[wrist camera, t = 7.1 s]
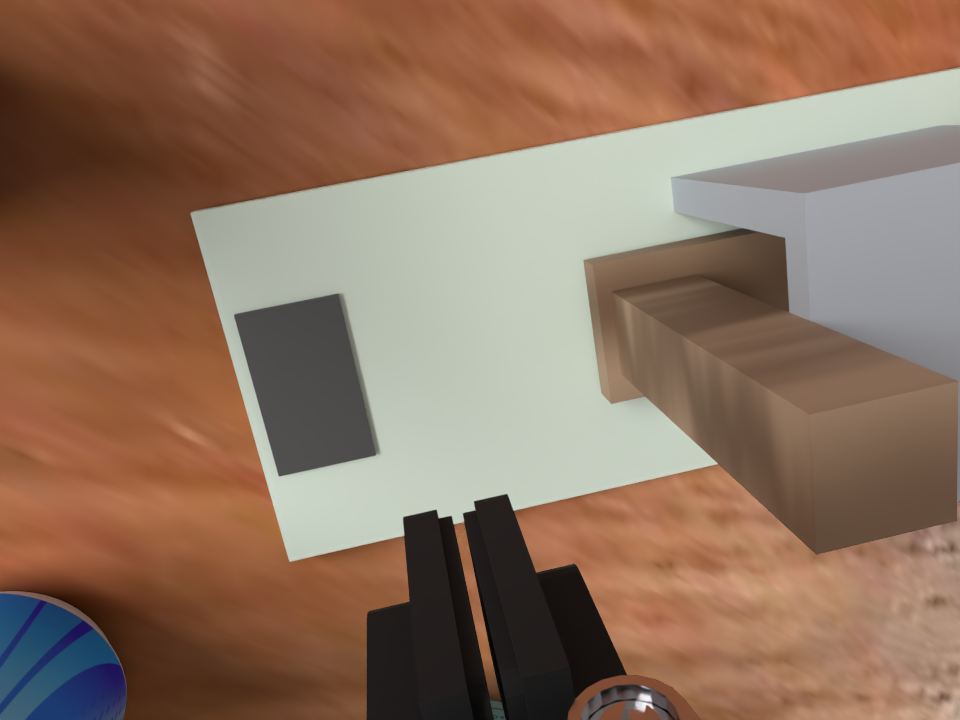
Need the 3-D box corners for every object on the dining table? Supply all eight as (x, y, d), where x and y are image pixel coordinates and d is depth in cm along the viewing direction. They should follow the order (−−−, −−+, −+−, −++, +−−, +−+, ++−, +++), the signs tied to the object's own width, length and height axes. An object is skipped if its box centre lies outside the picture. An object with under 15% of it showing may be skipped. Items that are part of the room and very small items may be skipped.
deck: (196, 210, 26) (188, 213, 24) (1093, 42, 28) (1124, 37, 27) (292, 548, 29) (289, 564, 28) (1074, 370, 32) (1100, 379, 31)
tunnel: (670, 177, 26) (804, 193, 18) (938, 125, 27) (1178, 119, 19) (695, 425, 29) (820, 535, 21) (937, 371, 30) (1146, 457, 22)
